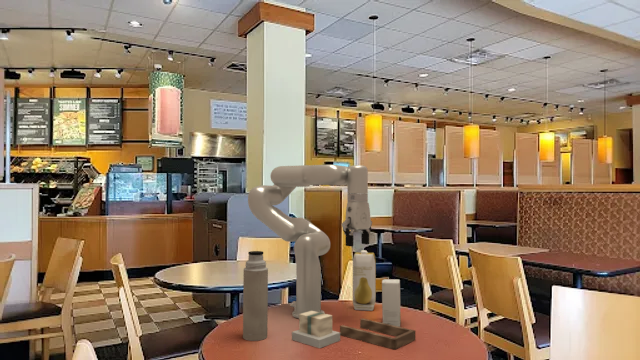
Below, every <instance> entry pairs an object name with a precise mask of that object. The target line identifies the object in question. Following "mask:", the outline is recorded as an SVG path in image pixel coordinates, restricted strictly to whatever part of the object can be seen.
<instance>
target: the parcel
mask: <svg viewBox="0 0 640 360" xmlns="http://www.w3.org/2000/svg"><path fill="white" fill-rule="evenodd" d="M298 321H299V322H298V330H299V331H300V332H303V333H307V334H310V335H314V336H317V337H322V336H325V335H328V334H330V333H332V331H333V315H332V314H328V313H325V314H324V313H321V312H315V311H309V312H305V313H302V314H299V318H298Z"/></svg>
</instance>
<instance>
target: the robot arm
mask: <svg viewBox="0 0 640 360" xmlns="http://www.w3.org/2000/svg"><path fill="white" fill-rule="evenodd" d="M368 173H369V170H368V167H367V166H366V165H359V164H358V165H350V166H345V165H338V164H311V165H309V164H304V165H279V166H276V167H275V168H273V169H272V171H271V172H270V180H271V182H272V184H273V185H262V184H261V185H256V186H254V187H252V188H251V189H250V190H249V192H248V195H247V202H248V203H247V204H248V208H249V210H250V213H252V214H253V216H254V217H255V218H256V219H257V220H258V221H260V222H261V223H263V224H264V226H266V227H267V228H268V229H270V230H271V231H272V232H273V233H275V234H276V235H277V236H278V238H280V239H282V240H283V241H285V242H287V243H288V242H290V243H291V242H294V247H293V250H294V256H295V265H296V266H295V267H296V269H295V270H296V273H295V275H296V295H295V296H296V298H295V299H296V300H293V301H292V303H290V307H292V308H293V309H294V310H293V311H292V313H291V315H292V317H294V318H296V319H299V314H302V313H305V312H309V311H315V312H321V313H324V314H326V313H325V310H322V307H321V306H322V303H321V301H322V293H321V292H322V287H321V286H322V276H321V274H322V271H321V270H322V268H321V262H320V258H319V256H323V255H326V254H327V253H328V252H329V251H330V249H331V240H330V238H329V236H328V235H327V234H326V233H325V232H324V231H323V230H321V229H320V228H319V227H318V226H316V225H314V224H313V223H312V222H311V221H309V220H308V219H306V218H304V217H291V216H290V215H287V214H286V213H284V211H282V210H281V209H279V208H278V207H276V206H278V205H280V204H282V203H283V202H284V201H285V199H287V197H289V196H290V195H291V193H292V192H293V191H294V190H295V189H296V188H299V187H300V188H301V187H302V188H304V187H305V188H308V187H310V186H347V190H346V191H347V199H346V200H347V201H346V202H347V203H346V208H345V220H344V221H343V222H342V223H341V228H342V231H343V233H344V234H343V235H345V247H351V248H352V247H354V235H353V234H354V231H355V230H356V231H360V230H361V232H362V233H361V235H360V236H361V241H360V243H361V244H362V245H369V244H370V234H371V230H372V224H373V221H372V219H371V210H370V209H371V208H370V203H369V201H368V200H369V197H368V195H369V192H368V191H369V190H368V189H369V186H368V185H369V183H368V181H369V178H368V177H369V176H368V175H369V174H368Z"/></svg>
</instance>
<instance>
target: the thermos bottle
mask: <svg viewBox="0 0 640 360" xmlns="http://www.w3.org/2000/svg"><path fill="white" fill-rule="evenodd" d="M247 252H248V259H247V260H246V261H245V267H244V268H243V283H242V284H243V292H242V293H243V295H242V296H243V299H242V300H243V301H242V302H243V303H242V307H243V308H242V338H243V339H244V340H245V341H250V342H252V341H253V342H254V341H255V342H256V341H257V342H258V341H262V340H265V339H266V338H268V331H269V330H268V316H269V315H268V310H269V309H268V304H269V303H268V302H269V299H268V294H269V293H268V292H269V285H268V284H269V276H268V275H269V268H268V267H266V266H267V262H266V261H265V260H264V251H261V250H252V251H247Z"/></svg>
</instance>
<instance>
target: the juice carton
mask: <svg viewBox="0 0 640 360" xmlns="http://www.w3.org/2000/svg"><path fill="white" fill-rule="evenodd" d="M376 260H377V259H376V256H375V253H374V252H368V251H367V250H366V249H365V250H364V249H362V250H360V251H359V252H355V253H354V254H353V259H352V304H353V308H354V310H355V311H371V312H372V311H373V310H374V309H375V305H376V298H377V296H376V292H377V291H376V290H377V288H376V286H377V285H376V284H377V283H376V280H377V278H376V276H377V274H376V273H377V272H376V271H377V268H376V267H377V266H376V265H377V262H376Z"/></svg>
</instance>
